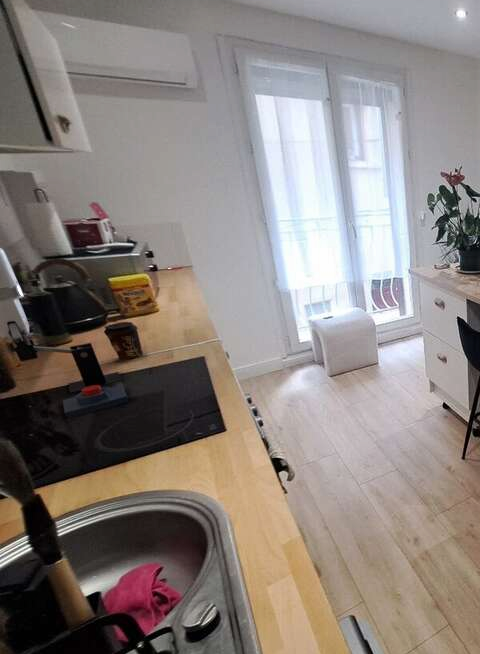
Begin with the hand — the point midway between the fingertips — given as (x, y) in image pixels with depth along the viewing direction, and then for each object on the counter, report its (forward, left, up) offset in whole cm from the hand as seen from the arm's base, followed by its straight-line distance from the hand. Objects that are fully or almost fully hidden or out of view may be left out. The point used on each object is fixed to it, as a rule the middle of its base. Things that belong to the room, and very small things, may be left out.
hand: (29, 356), depth 114 cm
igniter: (+9, -17, -13) cm, 23 cm away
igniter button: (+9, -17, -9) cm, 21 cm away
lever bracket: (+10, 0, -13) cm, 16 cm away
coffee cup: (+20, +18, -13) cm, 30 cm away
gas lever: (+5, 0, -1) cm, 5 cm away
